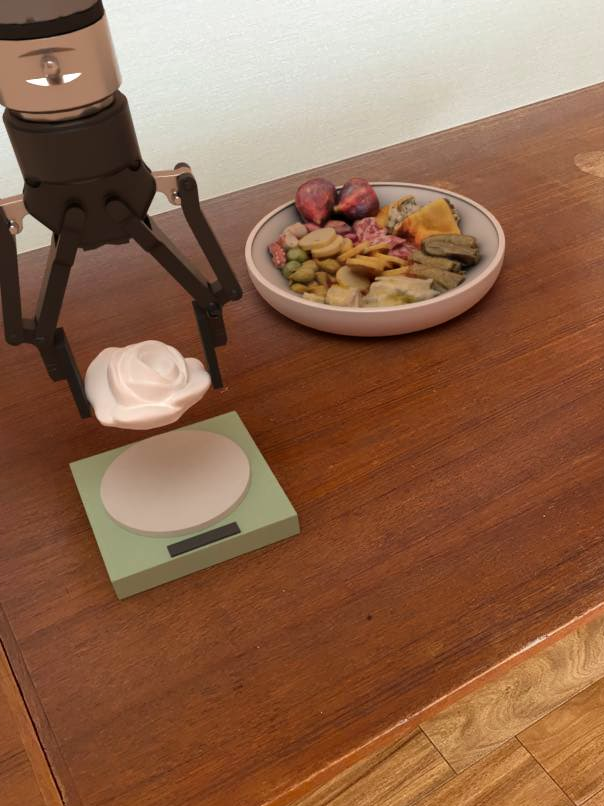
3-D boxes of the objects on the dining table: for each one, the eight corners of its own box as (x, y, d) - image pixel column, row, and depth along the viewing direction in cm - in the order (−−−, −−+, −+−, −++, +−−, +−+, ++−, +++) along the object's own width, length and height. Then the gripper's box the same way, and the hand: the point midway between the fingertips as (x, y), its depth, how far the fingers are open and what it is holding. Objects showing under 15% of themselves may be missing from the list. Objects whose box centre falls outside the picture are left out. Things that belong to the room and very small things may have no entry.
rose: (72, 324, 69) (195, 303, 70) (89, 370, 72) (206, 350, 73) (73, 399, 62) (208, 374, 63) (91, 446, 65) (220, 422, 67)
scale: (119, 600, 71) (108, 575, 68) (76, 482, 80) (65, 456, 78) (300, 533, 75) (296, 507, 73) (239, 429, 85) (233, 403, 83)
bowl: (555, 282, 102) (562, 219, 96) (353, 386, 89) (347, 320, 84) (395, 196, 118) (392, 137, 112) (204, 274, 105) (191, 212, 100)
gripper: (-139, 152, 48) (7, 455, 64) (254, 92, 53) (298, 389, 69) (-129, 104, 53) (5, 397, 69) (230, 52, 57) (276, 339, 74)
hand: (151, 393), depth 69 cm, fingers closed on rose, 10 cm apart
